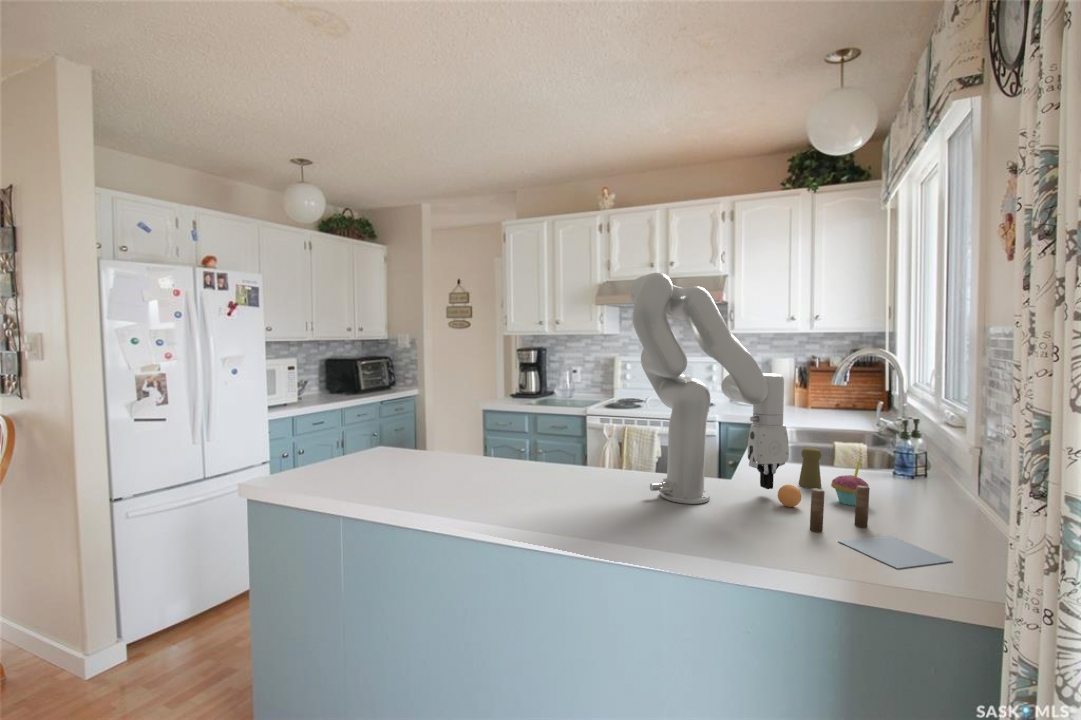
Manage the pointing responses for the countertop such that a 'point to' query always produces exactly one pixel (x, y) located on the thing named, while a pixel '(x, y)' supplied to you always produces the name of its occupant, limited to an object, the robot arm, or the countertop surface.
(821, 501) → the post
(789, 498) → the ball
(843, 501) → the cupcake
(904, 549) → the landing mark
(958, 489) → the countertop surface
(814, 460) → the cork
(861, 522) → the post
